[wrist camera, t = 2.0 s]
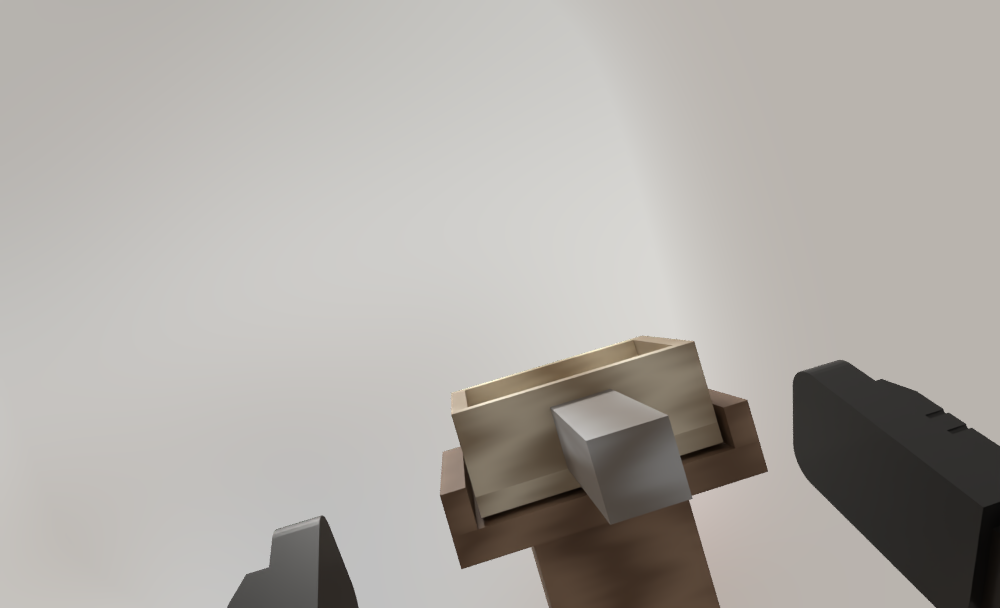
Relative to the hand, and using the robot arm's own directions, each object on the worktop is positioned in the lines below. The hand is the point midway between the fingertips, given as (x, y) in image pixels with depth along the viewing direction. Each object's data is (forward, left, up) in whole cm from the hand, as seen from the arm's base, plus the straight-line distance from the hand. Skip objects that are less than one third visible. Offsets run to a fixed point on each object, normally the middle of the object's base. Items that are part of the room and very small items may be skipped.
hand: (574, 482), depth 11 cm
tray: (+4, +21, -6) cm, 22 cm away
